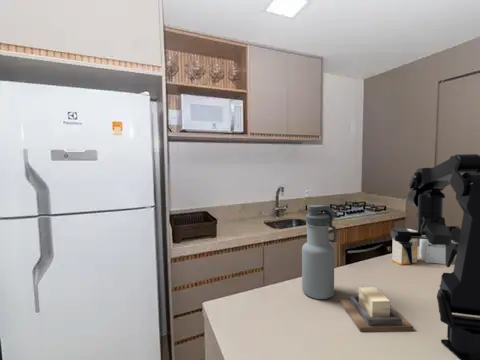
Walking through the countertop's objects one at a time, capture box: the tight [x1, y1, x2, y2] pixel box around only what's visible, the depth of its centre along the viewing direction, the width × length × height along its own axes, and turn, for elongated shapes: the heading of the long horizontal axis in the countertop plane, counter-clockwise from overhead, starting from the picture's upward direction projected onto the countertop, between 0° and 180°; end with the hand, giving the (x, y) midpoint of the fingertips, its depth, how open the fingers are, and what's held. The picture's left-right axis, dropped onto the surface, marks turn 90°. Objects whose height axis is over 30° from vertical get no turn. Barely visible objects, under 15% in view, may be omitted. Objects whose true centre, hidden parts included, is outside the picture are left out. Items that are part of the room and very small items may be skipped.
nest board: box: [339, 295, 414, 332], centre depth 70 cm, size 13×13×2 cm
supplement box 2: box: [418, 235, 446, 265], centre depth 106 cm, size 7×7×13 cm
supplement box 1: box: [391, 228, 419, 266], centre depth 105 cm, size 8×5×13 cm, turn 105°
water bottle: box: [301, 204, 338, 300], centre depth 82 cm, size 10×10×28 cm
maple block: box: [358, 286, 391, 317], centre depth 70 cm, size 8×4×5 cm, turn 0°
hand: (428, 265), depth 75 cm, fingers open, 9 cm apart
